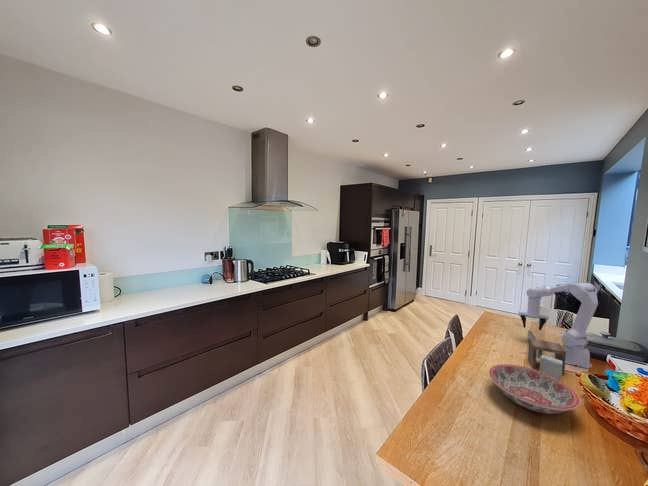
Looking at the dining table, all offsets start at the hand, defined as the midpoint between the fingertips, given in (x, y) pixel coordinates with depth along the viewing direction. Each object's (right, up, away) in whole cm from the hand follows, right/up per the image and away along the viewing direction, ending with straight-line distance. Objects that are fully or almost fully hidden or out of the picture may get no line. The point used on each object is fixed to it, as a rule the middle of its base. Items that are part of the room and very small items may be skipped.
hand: (532, 328), depth 157 cm
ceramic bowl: (-44, -14, -51) cm, 69 cm away
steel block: (-3, -10, -5) cm, 12 cm away
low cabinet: (-14, -11, -25) cm, 31 cm away
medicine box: (-19, -12, -33) cm, 40 cm away
